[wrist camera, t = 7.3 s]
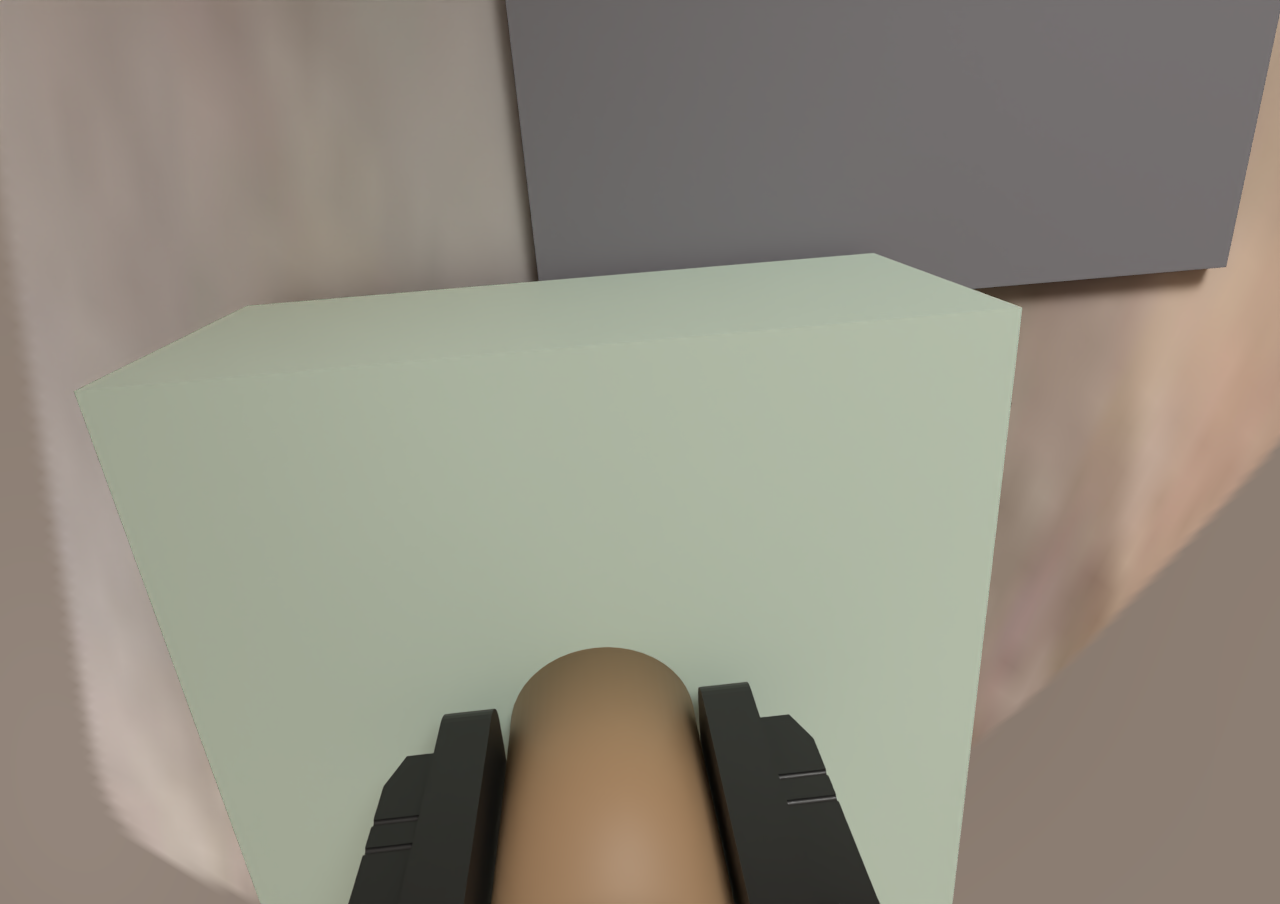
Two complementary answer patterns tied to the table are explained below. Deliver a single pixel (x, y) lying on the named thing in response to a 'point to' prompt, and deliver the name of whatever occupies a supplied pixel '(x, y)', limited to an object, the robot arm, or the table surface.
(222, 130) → the table surface
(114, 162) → the table surface
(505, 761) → the robot arm
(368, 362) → the cover
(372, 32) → the table surface
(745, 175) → the mat
